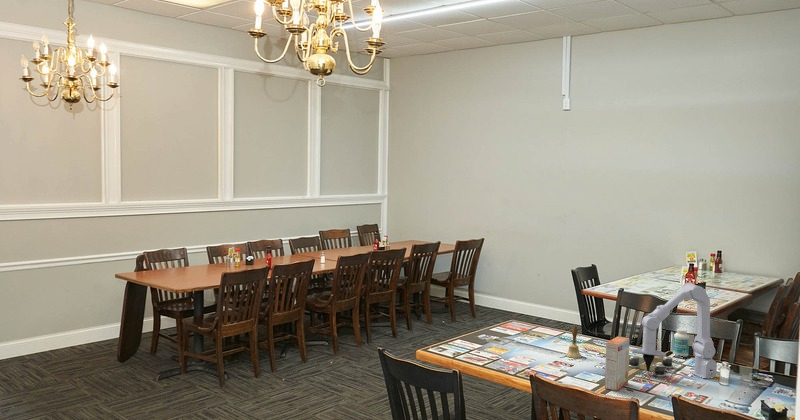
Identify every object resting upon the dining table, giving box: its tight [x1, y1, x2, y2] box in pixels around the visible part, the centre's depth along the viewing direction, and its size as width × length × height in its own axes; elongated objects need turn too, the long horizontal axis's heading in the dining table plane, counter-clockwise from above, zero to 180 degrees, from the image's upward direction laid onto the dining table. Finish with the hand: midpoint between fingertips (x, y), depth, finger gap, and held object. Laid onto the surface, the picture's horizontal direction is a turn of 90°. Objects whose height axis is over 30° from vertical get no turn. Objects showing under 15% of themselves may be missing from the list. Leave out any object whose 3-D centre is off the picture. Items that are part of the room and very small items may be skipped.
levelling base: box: [629, 362, 674, 378], centre depth 309 cm, size 20×21×2 cm
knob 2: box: [652, 355, 673, 366], centre depth 314 cm, size 11×5×4 cm, turn 79°
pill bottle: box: [672, 328, 690, 358], centre depth 335 cm, size 8×7×14 cm
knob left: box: [639, 363, 666, 374], centre depth 302 cm, size 11×5×4 cm, turn 70°
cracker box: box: [604, 336, 630, 392], centre depth 285 cm, size 14×6×21 cm, turn 141°
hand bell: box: [564, 325, 583, 359], centre depth 329 cm, size 8×8×16 cm
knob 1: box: [629, 355, 640, 366], centre depth 315 cm, size 11×5×4 cm, turn 65°
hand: (647, 370), depth 300 cm, fingers closed, pressing on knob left
